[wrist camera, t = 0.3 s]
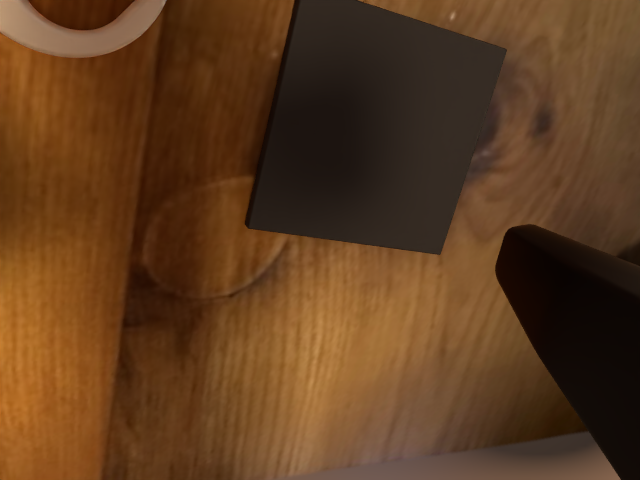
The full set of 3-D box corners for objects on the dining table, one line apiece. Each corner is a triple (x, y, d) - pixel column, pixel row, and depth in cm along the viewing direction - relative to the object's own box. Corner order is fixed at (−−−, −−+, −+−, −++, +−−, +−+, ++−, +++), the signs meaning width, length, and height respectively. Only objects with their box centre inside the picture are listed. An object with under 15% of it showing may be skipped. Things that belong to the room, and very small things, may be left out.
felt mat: (434, 250, 30) (440, 255, 29) (244, 224, 26) (247, 228, 25) (499, 48, 27) (507, 49, 27) (298, -17, 23) (303, -18, 23)
